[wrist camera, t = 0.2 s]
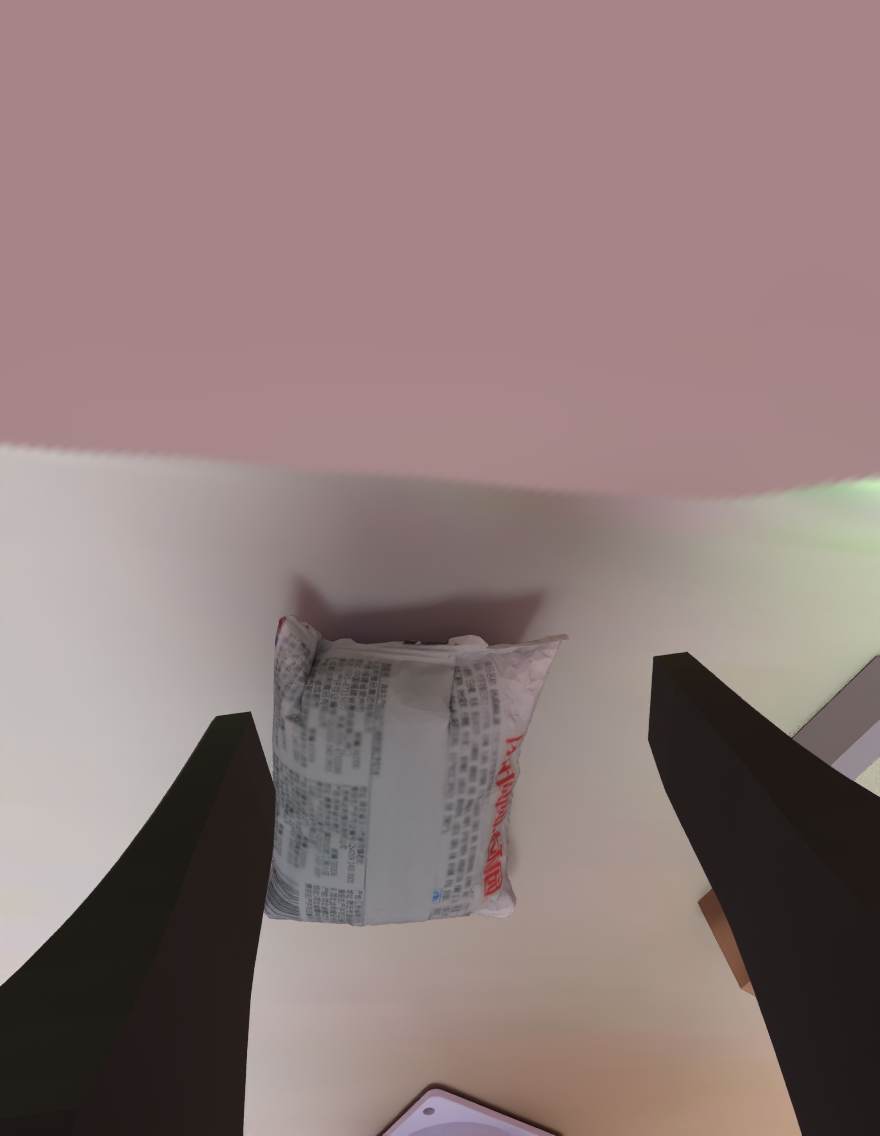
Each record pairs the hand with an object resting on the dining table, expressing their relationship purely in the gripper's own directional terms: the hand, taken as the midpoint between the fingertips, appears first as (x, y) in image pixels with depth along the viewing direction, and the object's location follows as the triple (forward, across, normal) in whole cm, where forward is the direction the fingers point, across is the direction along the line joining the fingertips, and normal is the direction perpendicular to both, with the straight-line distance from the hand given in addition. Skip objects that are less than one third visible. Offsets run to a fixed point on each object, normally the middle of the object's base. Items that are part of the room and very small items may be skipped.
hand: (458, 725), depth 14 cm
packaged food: (+10, +2, +10) cm, 14 cm away
